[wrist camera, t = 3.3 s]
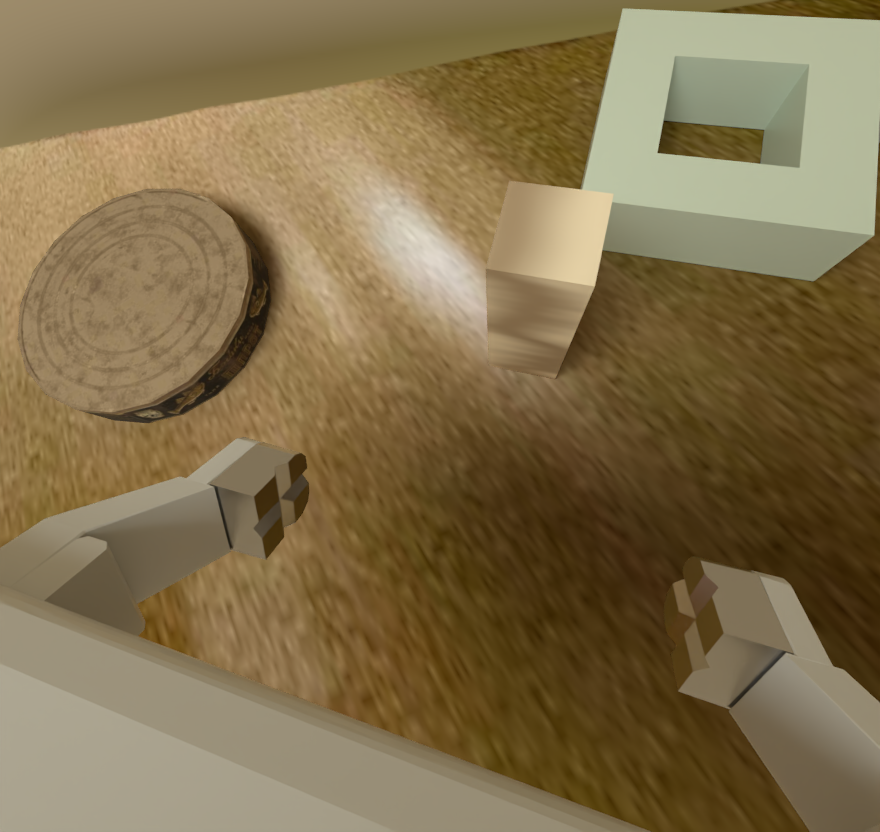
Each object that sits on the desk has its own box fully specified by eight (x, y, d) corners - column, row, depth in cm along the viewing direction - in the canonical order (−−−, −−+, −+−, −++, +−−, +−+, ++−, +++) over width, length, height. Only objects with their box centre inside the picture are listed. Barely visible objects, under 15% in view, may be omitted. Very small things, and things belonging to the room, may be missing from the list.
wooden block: (568, 318, 26) (613, 194, 16) (555, 379, 25) (594, 286, 15) (503, 306, 26) (509, 180, 17) (488, 365, 25) (485, 268, 16)
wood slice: (304, 235, 30) (284, 204, 27) (221, 449, 26) (188, 440, 24) (121, 205, 33) (85, 174, 30) (25, 395, 29) (-26, 381, 26)
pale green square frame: (828, 91, 27) (884, 20, 23) (813, 281, 24) (874, 235, 20) (606, 75, 30) (622, 8, 26) (567, 245, 27) (580, 198, 23)
